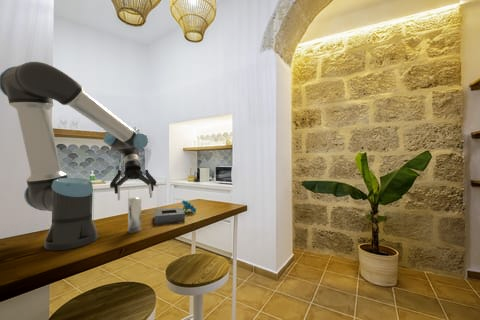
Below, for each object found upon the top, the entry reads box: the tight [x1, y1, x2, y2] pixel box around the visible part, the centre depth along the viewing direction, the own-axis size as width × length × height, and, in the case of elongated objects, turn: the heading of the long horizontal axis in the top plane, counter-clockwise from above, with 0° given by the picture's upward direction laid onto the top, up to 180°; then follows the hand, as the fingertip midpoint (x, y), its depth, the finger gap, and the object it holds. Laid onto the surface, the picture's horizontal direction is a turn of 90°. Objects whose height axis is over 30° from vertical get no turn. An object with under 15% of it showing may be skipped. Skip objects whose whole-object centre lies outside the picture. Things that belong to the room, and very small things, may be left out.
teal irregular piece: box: [181, 200, 197, 214], centre depth 121 cm, size 11×6×10 cm
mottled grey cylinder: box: [127, 197, 142, 234], centre depth 89 cm, size 5×5×14 cm
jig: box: [154, 207, 186, 225], centre depth 107 cm, size 14×14×4 cm
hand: (135, 197), depth 96 cm, fingers open, 13 cm apart
